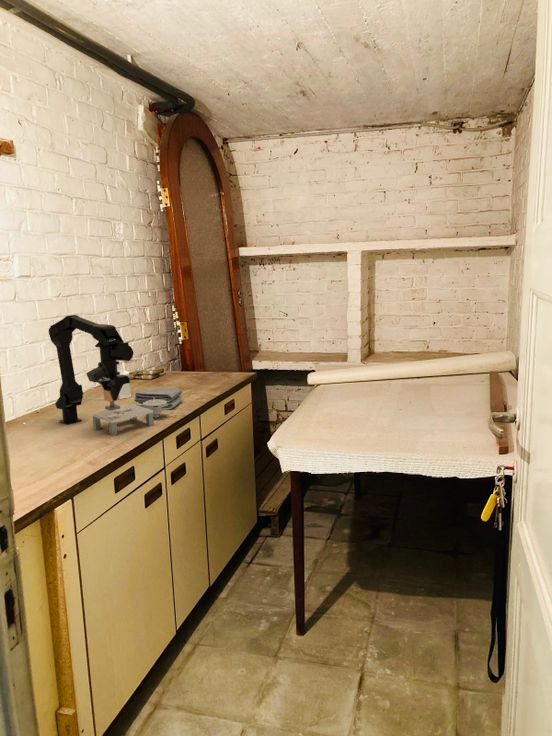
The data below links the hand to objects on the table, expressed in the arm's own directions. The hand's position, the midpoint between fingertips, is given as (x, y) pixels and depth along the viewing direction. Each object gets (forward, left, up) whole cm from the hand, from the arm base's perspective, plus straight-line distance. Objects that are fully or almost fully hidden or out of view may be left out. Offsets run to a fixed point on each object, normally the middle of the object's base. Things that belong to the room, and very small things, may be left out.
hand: (112, 399), depth 215 cm
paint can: (-45, +29, -12) cm, 55 cm away
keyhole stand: (0, +4, -12) cm, 12 cm away
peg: (0, 0, -4) cm, 4 cm away
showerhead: (-2, +20, -12) cm, 23 cm away
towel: (-17, +31, -12) cm, 37 cm away
